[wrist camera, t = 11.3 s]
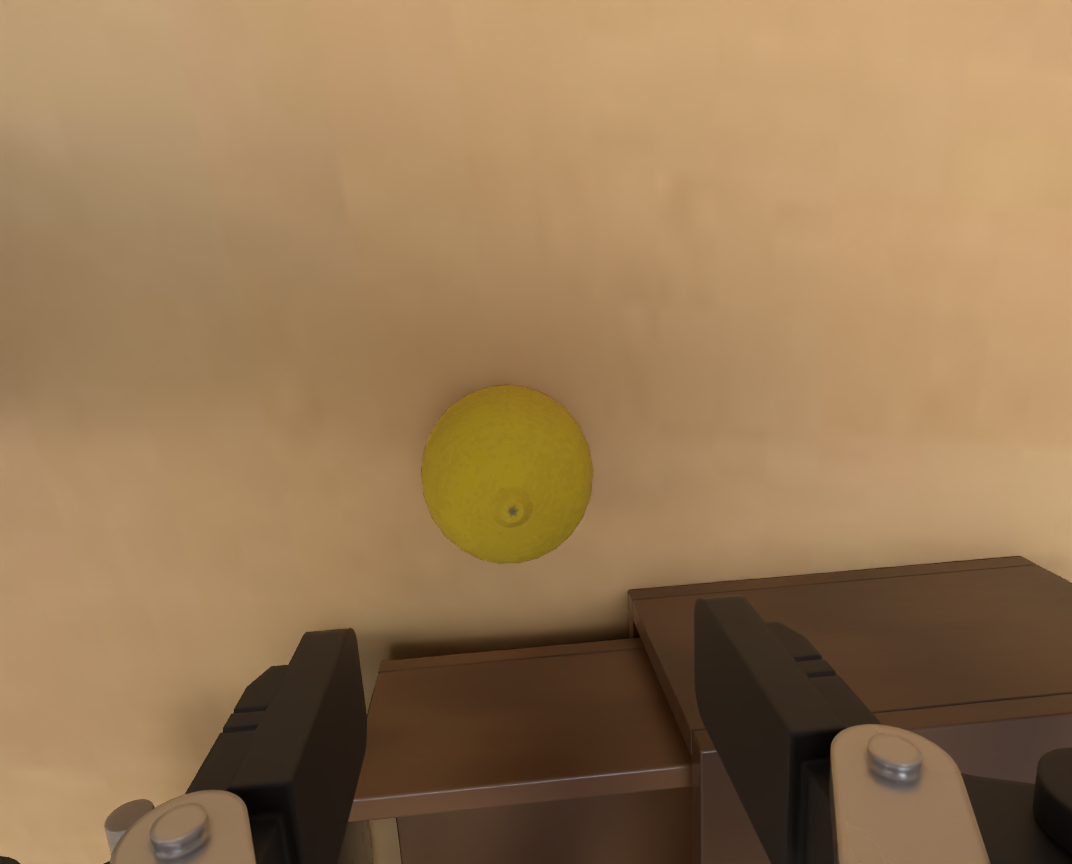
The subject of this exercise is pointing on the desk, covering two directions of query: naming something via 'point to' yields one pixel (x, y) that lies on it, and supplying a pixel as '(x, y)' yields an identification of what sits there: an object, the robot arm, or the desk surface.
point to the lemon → (507, 474)
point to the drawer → (518, 761)
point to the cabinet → (889, 667)
